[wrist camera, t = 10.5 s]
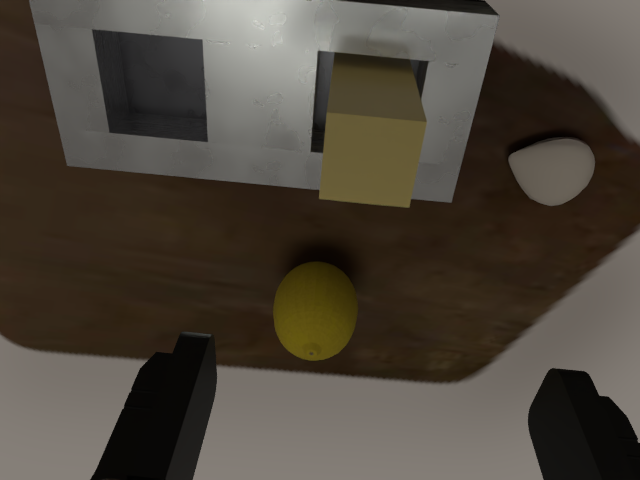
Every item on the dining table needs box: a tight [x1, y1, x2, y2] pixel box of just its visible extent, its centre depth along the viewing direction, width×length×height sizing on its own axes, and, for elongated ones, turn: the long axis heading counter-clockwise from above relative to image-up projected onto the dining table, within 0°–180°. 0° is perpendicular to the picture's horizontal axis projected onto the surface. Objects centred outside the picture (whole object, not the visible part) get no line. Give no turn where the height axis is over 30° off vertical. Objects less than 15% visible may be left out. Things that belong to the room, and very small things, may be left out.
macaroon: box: [508, 137, 595, 206], centre depth 31 cm, size 4×5×2 cm
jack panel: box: [29, 0, 500, 203], centre depth 28 cm, size 10×22×4 cm, turn 86°
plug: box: [319, 52, 427, 208], centre depth 26 cm, size 5×4×9 cm
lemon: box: [273, 261, 358, 360], centre depth 34 cm, size 6×6×8 cm
